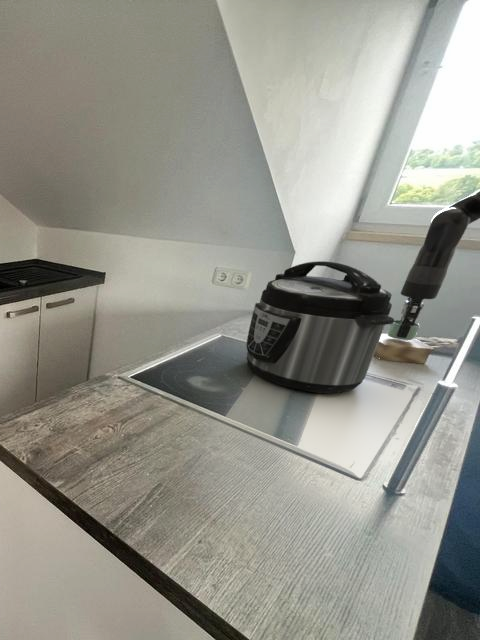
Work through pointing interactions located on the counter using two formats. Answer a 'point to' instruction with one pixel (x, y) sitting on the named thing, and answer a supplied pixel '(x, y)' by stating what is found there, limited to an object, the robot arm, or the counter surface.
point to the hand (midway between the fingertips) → (401, 333)
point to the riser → (402, 349)
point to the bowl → (395, 327)
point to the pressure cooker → (317, 328)
